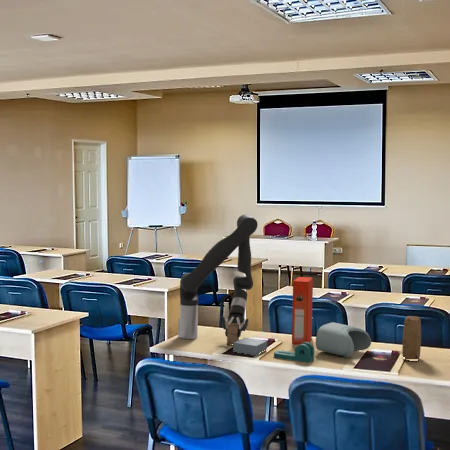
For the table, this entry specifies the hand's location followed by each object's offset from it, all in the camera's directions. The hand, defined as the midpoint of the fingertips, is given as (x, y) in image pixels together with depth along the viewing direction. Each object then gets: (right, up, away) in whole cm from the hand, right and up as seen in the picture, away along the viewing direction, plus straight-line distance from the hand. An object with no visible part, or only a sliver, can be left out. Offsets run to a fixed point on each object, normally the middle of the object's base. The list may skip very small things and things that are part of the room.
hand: (232, 336), depth 321 cm
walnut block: (0, -4, +2) cm, 5 cm away
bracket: (+27, -7, -23) cm, 36 cm away
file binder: (+36, -5, +12) cm, 38 cm away
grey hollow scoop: (+53, -6, -11) cm, 54 cm away
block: (+83, -8, -19) cm, 86 cm away
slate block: (+8, -5, -12) cm, 15 cm away
